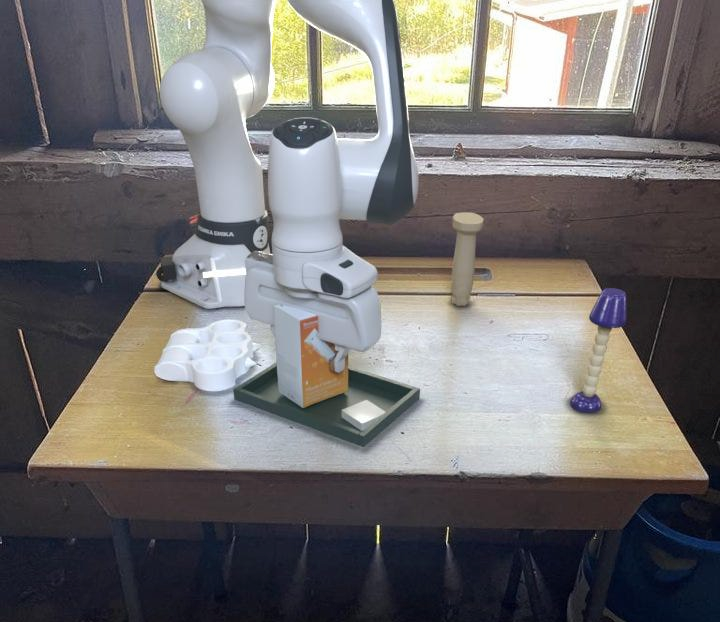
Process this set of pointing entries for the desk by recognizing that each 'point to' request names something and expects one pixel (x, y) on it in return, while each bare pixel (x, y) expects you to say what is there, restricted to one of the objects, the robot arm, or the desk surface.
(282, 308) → the small box
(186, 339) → the white brass knuckles
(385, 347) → the desk surface
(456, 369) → the desk surface
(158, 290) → the desk surface
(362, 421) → the chalk block
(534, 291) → the desk surface
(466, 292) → the handle
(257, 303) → the robot arm
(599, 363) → the toy lamp
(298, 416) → the tray
